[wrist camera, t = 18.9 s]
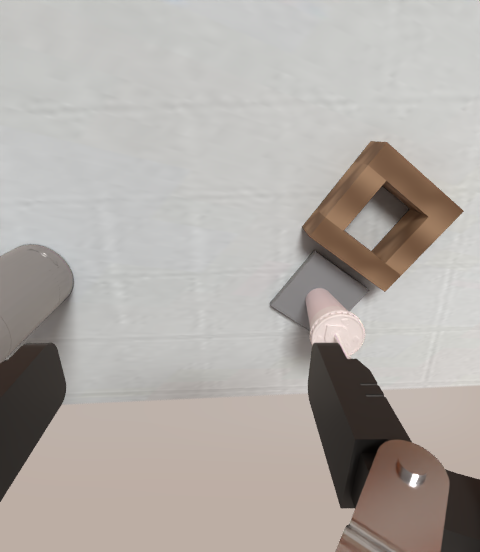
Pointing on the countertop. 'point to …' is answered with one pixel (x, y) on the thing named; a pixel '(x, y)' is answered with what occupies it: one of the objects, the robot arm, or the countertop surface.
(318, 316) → the smoothie
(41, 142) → the countertop surface
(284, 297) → the slate coaster
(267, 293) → the countertop surface
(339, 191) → the frame
